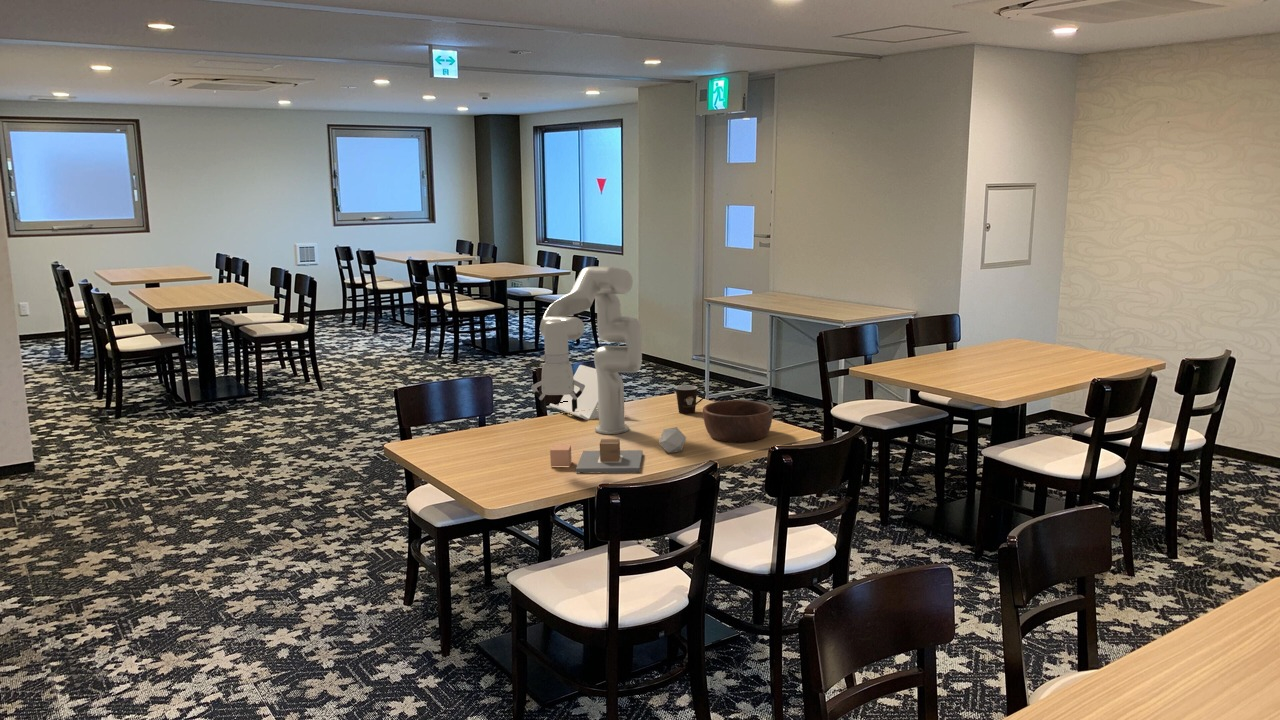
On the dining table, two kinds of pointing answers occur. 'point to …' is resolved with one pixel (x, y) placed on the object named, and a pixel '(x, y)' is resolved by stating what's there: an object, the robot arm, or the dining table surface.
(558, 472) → the dining table surface
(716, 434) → the wooden bowl
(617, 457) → the walnut block
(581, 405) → the tablet stand
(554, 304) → the robot arm
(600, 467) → the baseboard
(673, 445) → the die
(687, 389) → the coffee mug
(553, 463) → the terracotta block
